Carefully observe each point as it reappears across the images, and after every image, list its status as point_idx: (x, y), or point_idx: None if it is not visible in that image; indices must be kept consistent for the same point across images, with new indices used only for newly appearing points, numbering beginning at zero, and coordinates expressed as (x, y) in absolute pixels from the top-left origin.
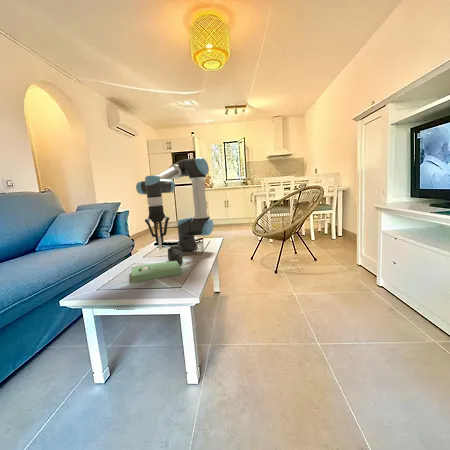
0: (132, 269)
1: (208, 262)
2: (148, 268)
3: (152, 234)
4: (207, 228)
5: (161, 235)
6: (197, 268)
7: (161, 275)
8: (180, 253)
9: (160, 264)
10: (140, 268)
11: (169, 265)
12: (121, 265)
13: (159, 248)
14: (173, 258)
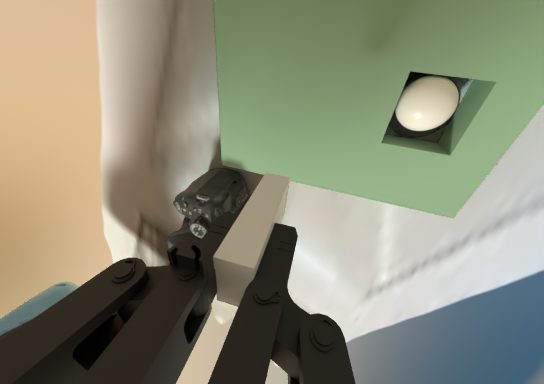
0: (488, 167)
1: (106, 101)
2: (406, 101)
3: (333, 372)
4: (26, 302)
5: (188, 276)
6: (146, 30)
7: None
8: (185, 193)
9: (307, 151)
10: (437, 153)
11: (269, 93)
12: (422, 307)
13: (287, 181)
14: (229, 186)
